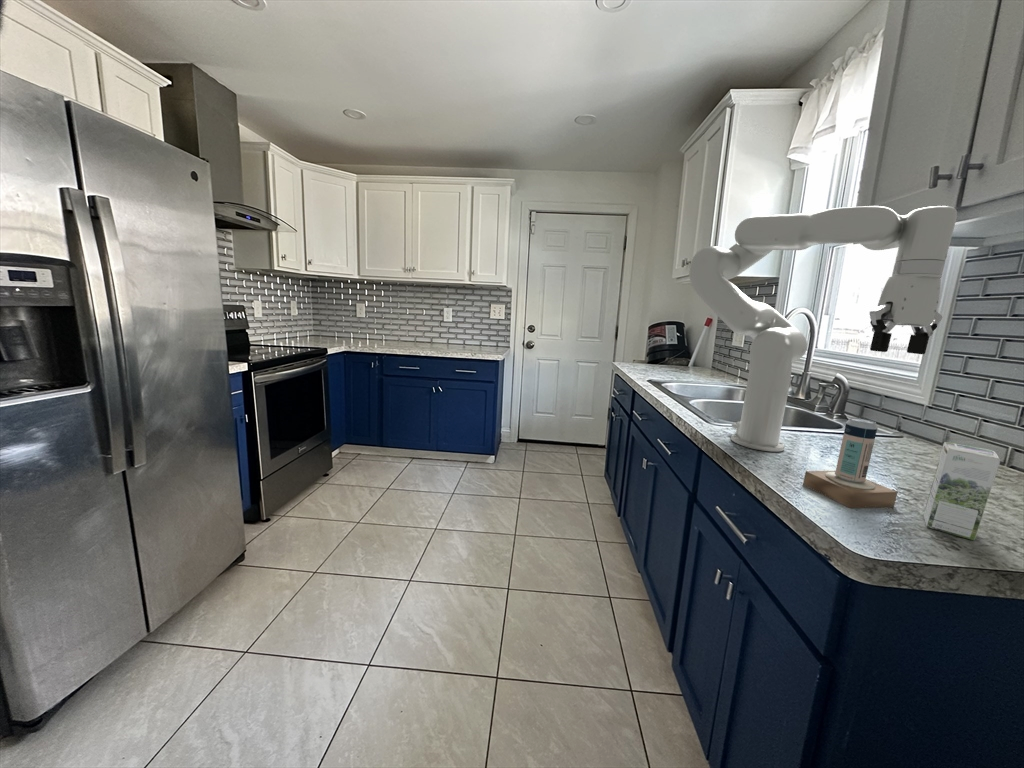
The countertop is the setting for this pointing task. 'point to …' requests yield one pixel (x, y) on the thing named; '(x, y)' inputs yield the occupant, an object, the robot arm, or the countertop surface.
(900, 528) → the countertop surface
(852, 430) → the beer can
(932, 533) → the countertop surface
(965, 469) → the syrup box
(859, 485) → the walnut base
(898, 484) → the countertop surface
